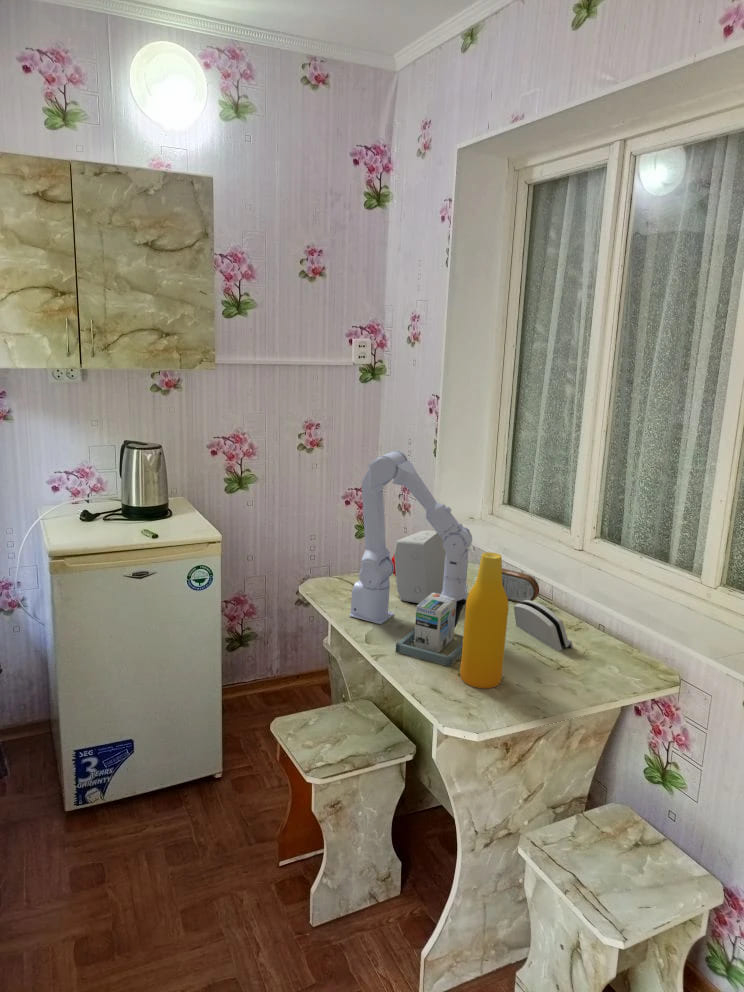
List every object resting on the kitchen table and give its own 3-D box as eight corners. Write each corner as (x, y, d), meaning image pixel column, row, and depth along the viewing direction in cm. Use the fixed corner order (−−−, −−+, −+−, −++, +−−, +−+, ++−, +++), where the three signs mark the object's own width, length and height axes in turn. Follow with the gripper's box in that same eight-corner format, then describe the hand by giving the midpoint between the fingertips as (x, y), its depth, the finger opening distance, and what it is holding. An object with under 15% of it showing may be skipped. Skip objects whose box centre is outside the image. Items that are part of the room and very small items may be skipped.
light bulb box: (438, 653, 180) (441, 611, 178) (412, 647, 183) (415, 605, 180) (454, 637, 189) (457, 597, 187) (429, 631, 192) (432, 591, 190)
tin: (538, 604, 214) (541, 576, 212) (534, 607, 212) (537, 579, 210) (489, 592, 222) (491, 564, 220) (484, 595, 219) (487, 567, 217)
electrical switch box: (411, 589, 227) (407, 524, 224) (454, 594, 218) (450, 527, 215) (383, 602, 215) (378, 534, 212) (428, 609, 207) (423, 538, 204)
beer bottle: (473, 692, 163) (484, 564, 156) (452, 672, 171) (461, 550, 164) (509, 685, 167) (522, 560, 160) (487, 667, 175) (498, 547, 168)
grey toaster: (574, 648, 187) (567, 614, 183) (559, 657, 185) (552, 623, 182) (530, 622, 201) (523, 590, 198) (516, 630, 200) (509, 598, 196)
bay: (395, 651, 180) (395, 644, 180) (421, 629, 193) (421, 622, 193) (450, 666, 174) (450, 658, 174) (473, 643, 187) (473, 635, 187)
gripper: (459, 588, 181) (455, 640, 184) (480, 571, 193) (475, 620, 197) (432, 582, 184) (428, 634, 187) (454, 565, 196) (450, 614, 200)
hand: (451, 626), depth 192 cm, fingers closed
